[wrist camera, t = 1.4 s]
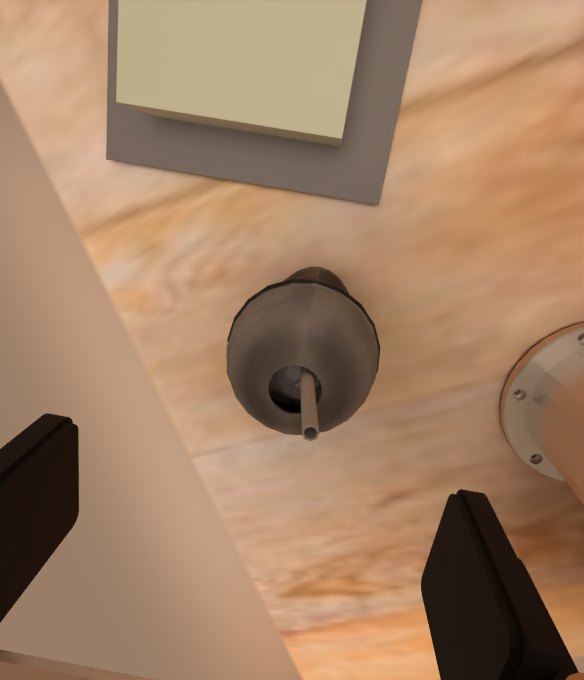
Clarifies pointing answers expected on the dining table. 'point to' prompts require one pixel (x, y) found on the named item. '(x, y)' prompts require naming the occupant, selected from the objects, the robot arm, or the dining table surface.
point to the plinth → (279, 153)
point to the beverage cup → (302, 354)
